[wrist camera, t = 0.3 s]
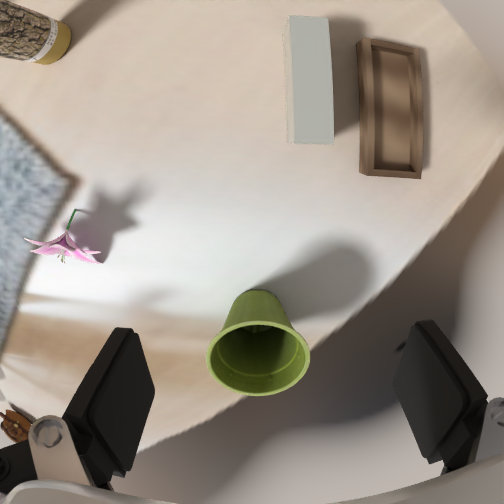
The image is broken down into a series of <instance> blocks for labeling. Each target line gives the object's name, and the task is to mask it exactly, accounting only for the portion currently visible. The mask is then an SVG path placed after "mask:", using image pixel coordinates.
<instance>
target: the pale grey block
mask: <svg viewBox="0 0 504 504" xmlns="http://www.w3.org/2000/svg"><path fill="white" fill-rule="evenodd" d="M283 46H284V66H285V90H286V122H287V142H288V143H293V144H329V145H334V110H333V82H332V63H331V48H330V35H329V24H328V18H322V17H310V16H293V15H289V17H288V20H287V23H286V26H285V30H284V33H283Z"/></svg>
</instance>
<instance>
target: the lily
mask: <svg viewBox="0 0 504 504" xmlns="http://www.w3.org/2000/svg"><path fill="white" fill-rule="evenodd" d="M75 212H76V209H74V211H73V214H72V216H71V218H70V221H69V223H68V226H67V229H66V231H65V233H64V234H63V235H62V236H60V237H58V238H57V239H55V240H53V241H50V242H37V241H33V240H29V239H25V238H24V239H25V240H27V241H29V242H31V243H33V244H36V245H41V246H42V247H40V248H38V249H36V250H32V251H31V252H34V253H38V254H44V255H54V254H57V253H58V254H60V255H62V259H61V261H62V262H63V255H64V256H73V257H74V258H76V259H78V260H81V261H84V262H90V263H99V262H96V261H93V260H91V259H90V258H88V257H87V256H86V255H85V254H83V253H82V252H84V253H86V254H97V253H100V252H99V251H89V250H83V249H81V248H79V247H77V245H76V244H75V243H74V242H73V241H72V239H71V238H70V236H69V235H68V229H69V226H70V223H71V221H72V218H73V216H74V214H75ZM79 249H80V250H81V251H82V252H81V251H80V250H79ZM58 257H59V255H58ZM64 263H65V261H64ZM99 264H103V263H99Z"/></svg>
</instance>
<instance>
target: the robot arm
mask: <svg viewBox="0 0 504 504" xmlns="http://www.w3.org/2000/svg"><path fill="white" fill-rule="evenodd" d="M393 387H394V390H395V392H396V394H397V397H398V399H399V401H400V403H401V406H402V408H403V410H404V412H405V415H406V417H407V420H408V422H409V425H410V427H411V429H412V432H413V434H414V437H415V439H416V442H417V444H418V447H419V449H420V452H421V454H422V456H423V457H424V458H427V460H428V463H429V464H432V463H435V462H438V461H441V460H443V462H444V467H443V469H442V472H441V475H440V476H439V477H436V478H433V479H430V480H427V481H424V482H421V483H418V484H415V485H411V486H408V487H405V488H401V489H398V490H394V491H390V492H386V493H382V494H378V495H373V496H369V497H364V498H360V499H354V500H348V501H342V502H337V503H329V504H504V398H501V397H499V398H494V399H492V400H491V401H490V402H489V403H488V402H487V400H486V399H487V397H488V395H487V393H486V392H485V390H484V389H483V387H482V386H481V384H480V383H479V381H478V380H477V379H476V377H475V376H474V374H473V373H472V371H471V370H470V369H469V367H468V366H467V364H466V363H465V362H464V360H463V359H462V357H461V356H460V355H459V353H458V352H457V351H456V349H455V348H454V347H453V345H452V344H451V343H450V341H449V340H448V339H447V337H446V336H445V335H444V334H443V332H442V331H441V330H440V328H439V327H438V326H437V325H436V324H435V322H434V321H433V320H431V319H430V320H422V321H417V322H416V323H415V325H414V326H412V327H411V330H410V333H409V336H408V339H407V343H406V346H405V349H404V352H403V355H402V358H401V361H400V364H399V366H398V370H397V372H396V375H395V377H394V381H393ZM154 395H155V388H154V384H153V381H152V378H151V375H150V372H149V369H148V366H147V362H146V359H145V356H144V352H143V349H142V345H141V342H140V338H139V335H138V334H137V333H134V331H133V329H131V328H120V327H116V328H115V329H114V330H113V332H112V333H111V335H110V337H109V338H108V340H107V341H106V343H105V345H104V346H103V348H102V350H101V351H100V353H99V354H98V356H97V358H96V359H95V361H94V363H93V364H92V365H91V367H90V368H89V370H88V372H87V374H86V375H85V377H84V379H83V380H82V382H81V384H80V386H79V387H78V389H77V391H76V393H75V394H74V396H73V398H72V400H71V402H70V403H69V405H68V407H67V409H66V411H65V413H64V414H63V416H62V418H60V417H57V416H52V415H48V416H43V417H41V418H39V419H37V420H36V421H35V422H34V423H33V424H32V426H31V427H30V430H29V433H28V438H29V439H27V440H24V441H21V442H19V443H16V444H13V445H11V446H7V447H5V448H2V449H0V504H176V503H169V502H163V501H157V500H151V499H146V498H140V497H135V496H130V495H126V494H122V493H118V492H115V491H114V489H113V487H112V485H111V484H110V481H111V478H112V475H115V476H119V477H123V478H124V477H125V474H126V471H130V470H131V468H132V466H133V462H134V459H135V456H136V452H137V449H138V446H139V442H140V439H141V436H142V433H143V430H144V426H145V423H146V420H147V417H148V414H149V411H150V408H151V405H152V402H153V399H154Z"/></svg>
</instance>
